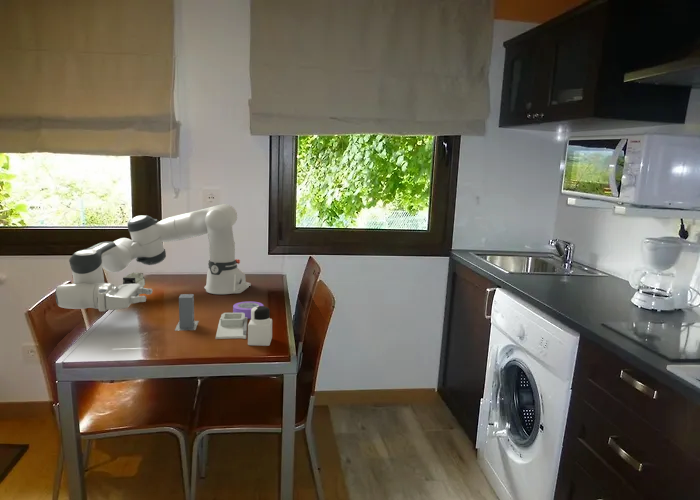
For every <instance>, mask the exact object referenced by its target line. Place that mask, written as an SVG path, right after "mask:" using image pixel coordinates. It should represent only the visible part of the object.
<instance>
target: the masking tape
mask: <svg viewBox="0 0 700 500" xmlns="http://www.w3.org/2000/svg"><path fill="white" fill-rule="evenodd" d="M256 306H264V303H262V302H258V301H240V302H236V303H234V304H233V305H232V313H245V317H247V320H251V309H252V308H254V307H256Z"/></svg>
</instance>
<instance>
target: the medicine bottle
mask: <svg viewBox="0 0 700 500" xmlns="http://www.w3.org/2000/svg"><path fill="white" fill-rule="evenodd" d="M270 313H271V311H270V308H269V307H267V306H265V305H263V306H256V307H254V308H252V309H251V319H249V322H248V323H247V345H248V346H256V347H257V346H258V347H259V346H263V347H268V346H270V345H271V342H272V339H273V319H272V318H270Z"/></svg>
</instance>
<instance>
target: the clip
mask: <svg viewBox="0 0 700 500" xmlns="http://www.w3.org/2000/svg"><path fill="white" fill-rule="evenodd" d="M194 296H195V295H194V294H193V293H184V294H183V293H182V294H179V297H178V315H179V316H178V319H179V321H178V322H179V327H180V328H191V327H193V325H194V321H195V299H194V298H195V297H194Z"/></svg>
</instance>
